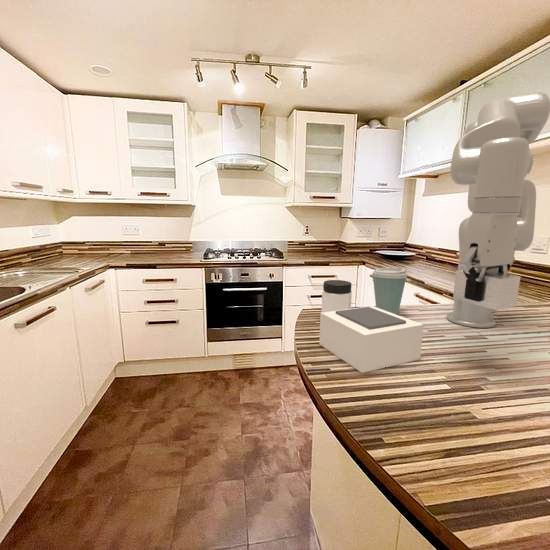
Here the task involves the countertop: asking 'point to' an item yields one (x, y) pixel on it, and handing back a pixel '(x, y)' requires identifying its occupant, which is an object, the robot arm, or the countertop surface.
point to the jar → (336, 295)
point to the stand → (370, 337)
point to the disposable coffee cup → (389, 288)
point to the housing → (491, 289)
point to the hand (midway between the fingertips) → (483, 297)
